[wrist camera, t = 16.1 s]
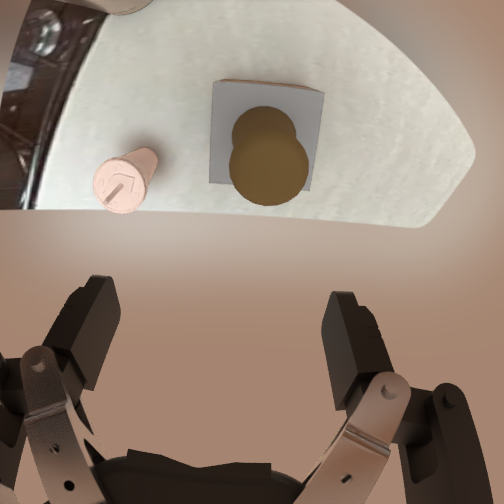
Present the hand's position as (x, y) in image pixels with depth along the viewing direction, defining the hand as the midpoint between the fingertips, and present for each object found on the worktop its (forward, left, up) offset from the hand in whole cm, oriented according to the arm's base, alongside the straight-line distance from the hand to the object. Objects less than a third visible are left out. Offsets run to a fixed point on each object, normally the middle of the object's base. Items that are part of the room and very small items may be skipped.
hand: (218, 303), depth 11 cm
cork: (-1, +2, -21) cm, 21 cm away
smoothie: (+5, -13, -31) cm, 34 cm away
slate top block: (-1, +2, -26) cm, 26 cm away
